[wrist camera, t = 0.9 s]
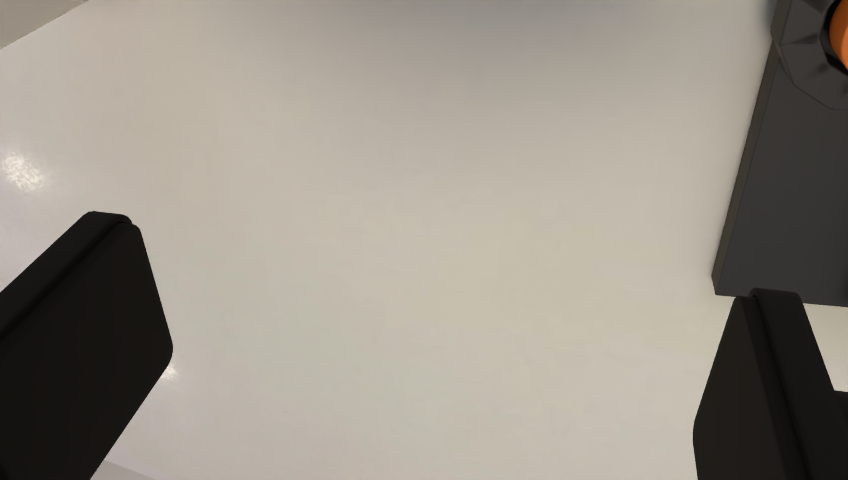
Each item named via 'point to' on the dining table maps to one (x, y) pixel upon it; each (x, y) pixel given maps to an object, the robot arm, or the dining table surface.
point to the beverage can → (29, 16)
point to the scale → (793, 169)
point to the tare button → (840, 32)
